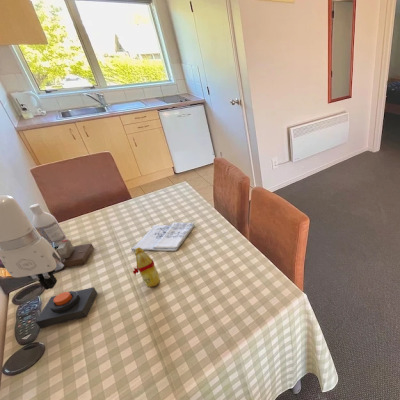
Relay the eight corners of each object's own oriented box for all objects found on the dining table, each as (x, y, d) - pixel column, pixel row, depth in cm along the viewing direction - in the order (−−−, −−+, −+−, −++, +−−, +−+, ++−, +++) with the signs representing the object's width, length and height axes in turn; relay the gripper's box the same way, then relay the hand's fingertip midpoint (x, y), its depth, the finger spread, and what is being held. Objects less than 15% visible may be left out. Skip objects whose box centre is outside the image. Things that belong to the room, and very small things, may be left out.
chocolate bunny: (155, 267, 104) (142, 237, 97) (163, 283, 97) (149, 252, 90) (135, 276, 100) (120, 245, 93) (142, 293, 93) (126, 261, 86)
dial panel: (48, 271, 103) (44, 265, 101) (60, 255, 111) (56, 249, 109) (85, 264, 106) (81, 258, 105) (94, 248, 114) (91, 242, 113)
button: (53, 307, 83) (50, 303, 82) (59, 297, 86) (56, 293, 86) (69, 303, 84) (66, 299, 83) (74, 294, 88) (71, 290, 87)
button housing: (40, 328, 82) (31, 318, 79) (56, 303, 90) (48, 292, 88) (86, 317, 85) (79, 306, 83) (97, 293, 93) (91, 283, 91)
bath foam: (49, 242, 118) (24, 204, 108) (69, 237, 121) (46, 199, 111) (47, 251, 113) (20, 212, 103) (68, 245, 116) (44, 206, 106)
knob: (68, 257, 105) (62, 247, 102) (62, 258, 104) (56, 248, 102) (74, 249, 110) (68, 239, 107) (69, 250, 109) (62, 240, 106)
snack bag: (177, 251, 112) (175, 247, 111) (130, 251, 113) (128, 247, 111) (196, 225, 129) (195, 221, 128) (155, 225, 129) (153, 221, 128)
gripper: (-28, 253, 67) (13, 301, 77) (45, 241, 72) (75, 288, 81) (-8, 236, 74) (28, 282, 83) (58, 226, 78) (85, 271, 87)
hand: (51, 285), depth 82 cm, fingers closed
